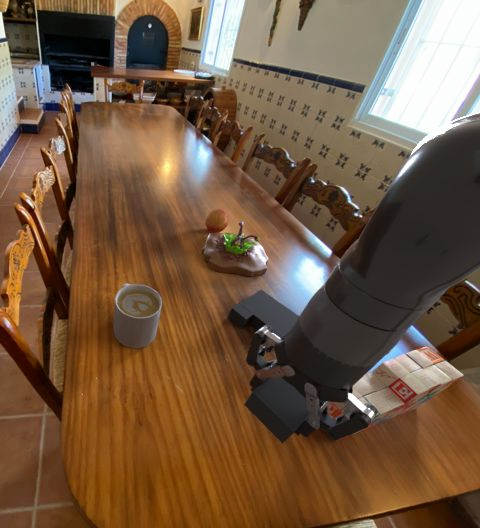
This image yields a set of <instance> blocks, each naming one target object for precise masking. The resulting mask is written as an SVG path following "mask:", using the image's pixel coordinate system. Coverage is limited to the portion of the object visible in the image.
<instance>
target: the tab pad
mask: <svg viewBox="0 0 480 528" xmlns="http://www.w3.org/2000/svg"><path fill="white" fill-rule="evenodd" d="M244 406H245V407H246V409H248V410H249V412H251V414H252V415H254V417H256V418H257V420H258V421H259V422H260V423H261V424H262V425H263V426H264V427H265V428H266V429H267V430H268V431H269V432H270V433H271V434H272V435H273V436H274V437H275V438H276V439H277V440H278V441H279V442H280V443H281V444H282V445H283V444H284V443H285V442H286V441H287V440H288V439H290V437H291V436H292V435H293V434H295V433H294V432H295V431H296V430H297V429H298V428H299V426H300V425H301V424H302V422H303V421H304V420H305V419H306V418H307V416H308V411H307V410H306V398H305V397H304V396H302V395H301V394H300V393H299V392H298V391H297V390H296V388H295V387H294V386H292V385H290V384H289V383H287V382H286V381H285V380H284V379H283V378H282V377H278V378H273V379H271V378H268V379H267V380H266V381H265V382H263V383H262V384H261V385H260V386H259V387H257V388H256V389H255V390H254V391H253V392H252V391H251V393H250V394H249V396H248V398H247V400H246V401H245V402H244Z"/></svg>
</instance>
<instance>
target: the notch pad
mask: <svg viewBox="0 0 480 528" xmlns="http://www.w3.org/2000/svg"><path fill="white" fill-rule="evenodd" d="M299 316H300V315H298V314H297V312H295V311H293V310H291V309H290V308H288V307H287V306H285V305H284V304H283V303H281V302H280V301H278V300H277V299H276V298H274V297H273V296H272V295H270V294H268V293H267V292H265V291H264V289H263V290H262V289H259V290H258V291H256V292H255V293H253V294H252V295H250V296H248V297H247V298H245V299H244V300H242V301H240V302H239V303H238V304H236V305H234V306H232V307H231V308H230V311H229V314H228V316H227V318H228V319H229V320H230V321H231V322H233V324H235V325H236V326H237V327H239V328H240V329H241V330H242V329H243V328H245V327H246V326H247V325H250V326H251V327H252V328H253V329H254V330H256V332H257V331H258V330H259V329H261V328H262V327H264V326H265V325H269V326H271V327H272V329H273V332H272V333H273V334H274V335H276V336H278V337H279V338H281V339H282V338H285V337H286V336H287V334H288V333H289V331H290V330H291V328H292V327H293V325H294V324H295V322H296V321H297V319H298V318H299ZM273 350H274V346H270V347H269V348H267V350H266V351H268V352H269V353H271V352H272V351H273Z"/></svg>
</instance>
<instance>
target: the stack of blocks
mask: <svg viewBox="0 0 480 528" xmlns="http://www.w3.org/2000/svg"><path fill="white" fill-rule="evenodd" d="M463 377H464V374H463V373H462V372H460V371H459V370H458V369H457V368H455V367H454V366H453V365H452V364H451V363H449V362H448V361H447V360H445V359H444V358H443V357H442V356H440V355H439V354H438V353H436V352H435V351H434V350H432V348H430V347H428V346H422V347H421V348H418V349H415V350H412V351H409V352H407V353H402V354H399V355H397V356H395V357H393V358H390V359H387V360H385V361H383V362H381V363H380V364H379V365H378V366H377V367H375V368H374V369H373V370H372V371H369V372H367V373H366V374H365V375H364V376H363V377H362V378H361V379H360V380H359V381H358V382H357V383H356V384H354V385H353V392H352V394H353V395H354V396H355V397H356V398H357V399H358V400H359V401H360V402H362V403H363V404H366V403H368V404H371V405H373V406H375V407H376V408H377V410H378V413H377V415H376V416H375V418H374V419H373V421H372V422H371V423H370V425H369V426H368V427H367V428H365V429H363V430H360V431H358V432H355V433H353V434H350V435H348V436H346V437H343V438H341V439H338V440H335V442H339V441H340V440H343V439H345V438H348V437H351V436H354V435H356V434H358V433H361V432H364V431H366V430H368V429H371V428H373V427H374V426H377V425H380V424H381V423H383V422H386V421H388V420H390V419H393V418H396V417H399V416H401V415H403V414H404V415H405V414H406V413H409V412H411V411H414V410H417V409H418V408H419V407H421V406H422V405H424V404H425V403H427V402H428V401H429V400H430V399H432V398H433V397H434V396H436V395H438V394H440V393H441V392H443V391H444V390H446V389H447V388H448V387H450V386H451V385H453V384H454V383H456V382H457V381H459V380H460V379H462V378H463ZM345 408H346V405H345V404H344V402H342V403H339V402H330V404H329V415H330V416H332V417H333V418H335V419H336V418H337V417H339V416H341V415H343V414H345V413H344V409H345Z"/></svg>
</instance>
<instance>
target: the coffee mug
mask: <svg viewBox="0 0 480 528" xmlns="http://www.w3.org/2000/svg"><path fill="white" fill-rule="evenodd" d="M162 300H163V299H162V297H161V295H160V293H159V292H158V291H157V290H155V289H154V288H153V287H151V286H148V285H145V284H141V283H133V284H130V283H124V284H122V286H121V288H120V289H119V290H118V291H117V292H116V293H115V297H114V308H113V309H114V311H113V328H112V329H113V330H112V331H113V336H114V337H115V339H116V340H117V341H118V342H119V343H120V345H122V346H125V347H127V348H130V349H142V348H146V347H148V346H150V345H151V344H152V343H153V342H154V341H155V339H156V336H157V332H158V327H159V322H160V317H161V312H162V307H163V301H162Z"/></svg>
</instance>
